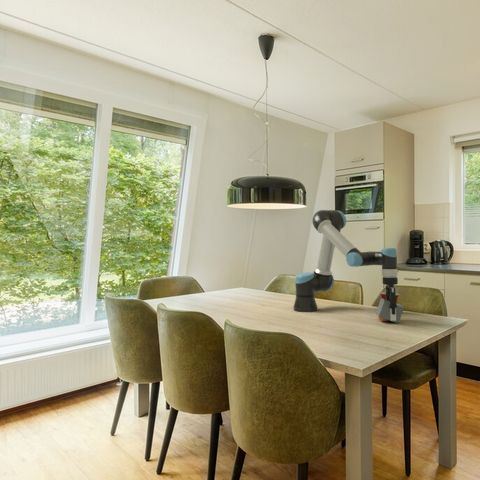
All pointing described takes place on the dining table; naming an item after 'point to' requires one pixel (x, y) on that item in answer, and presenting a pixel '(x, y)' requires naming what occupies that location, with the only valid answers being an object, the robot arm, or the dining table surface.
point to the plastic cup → (383, 295)
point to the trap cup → (388, 310)
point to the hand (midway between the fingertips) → (391, 318)
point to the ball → (382, 319)
